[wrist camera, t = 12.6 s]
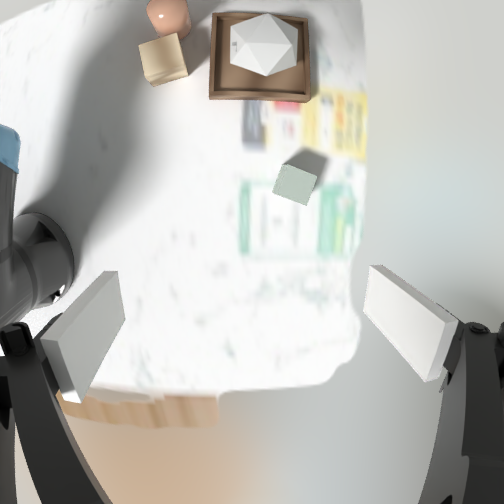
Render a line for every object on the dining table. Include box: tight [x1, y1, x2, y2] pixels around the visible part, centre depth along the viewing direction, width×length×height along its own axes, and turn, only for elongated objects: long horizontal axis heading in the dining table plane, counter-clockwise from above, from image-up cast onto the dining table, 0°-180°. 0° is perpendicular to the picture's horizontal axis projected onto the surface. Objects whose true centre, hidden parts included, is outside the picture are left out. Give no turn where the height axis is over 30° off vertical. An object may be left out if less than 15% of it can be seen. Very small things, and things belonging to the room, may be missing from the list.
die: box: [230, 13, 298, 76], centre depth 30 cm, size 8×9×10 cm
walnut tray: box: [209, 13, 311, 103], centre depth 33 cm, size 13×13×2 cm
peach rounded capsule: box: [146, 0, 191, 40], centre depth 28 cm, size 5×5×7 cm
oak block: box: [138, 33, 189, 87], centre depth 31 cm, size 5×5×5 cm
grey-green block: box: [272, 165, 317, 206], centre depth 38 cm, size 4×4×4 cm
